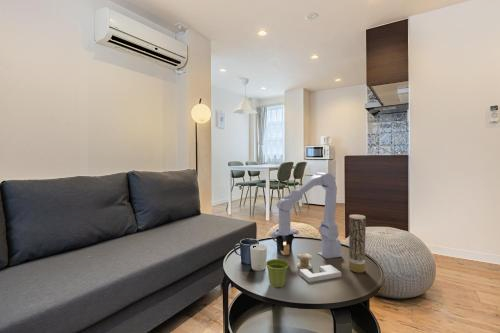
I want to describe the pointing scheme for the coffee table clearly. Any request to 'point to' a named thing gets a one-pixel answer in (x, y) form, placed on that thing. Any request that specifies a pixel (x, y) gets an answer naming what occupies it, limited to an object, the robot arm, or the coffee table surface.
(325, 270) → the board
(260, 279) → the coffee table surface
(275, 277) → the plant pot
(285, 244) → the block
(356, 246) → the bark textured cylinder
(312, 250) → the coffee table surface
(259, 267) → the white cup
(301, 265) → the bobbin
